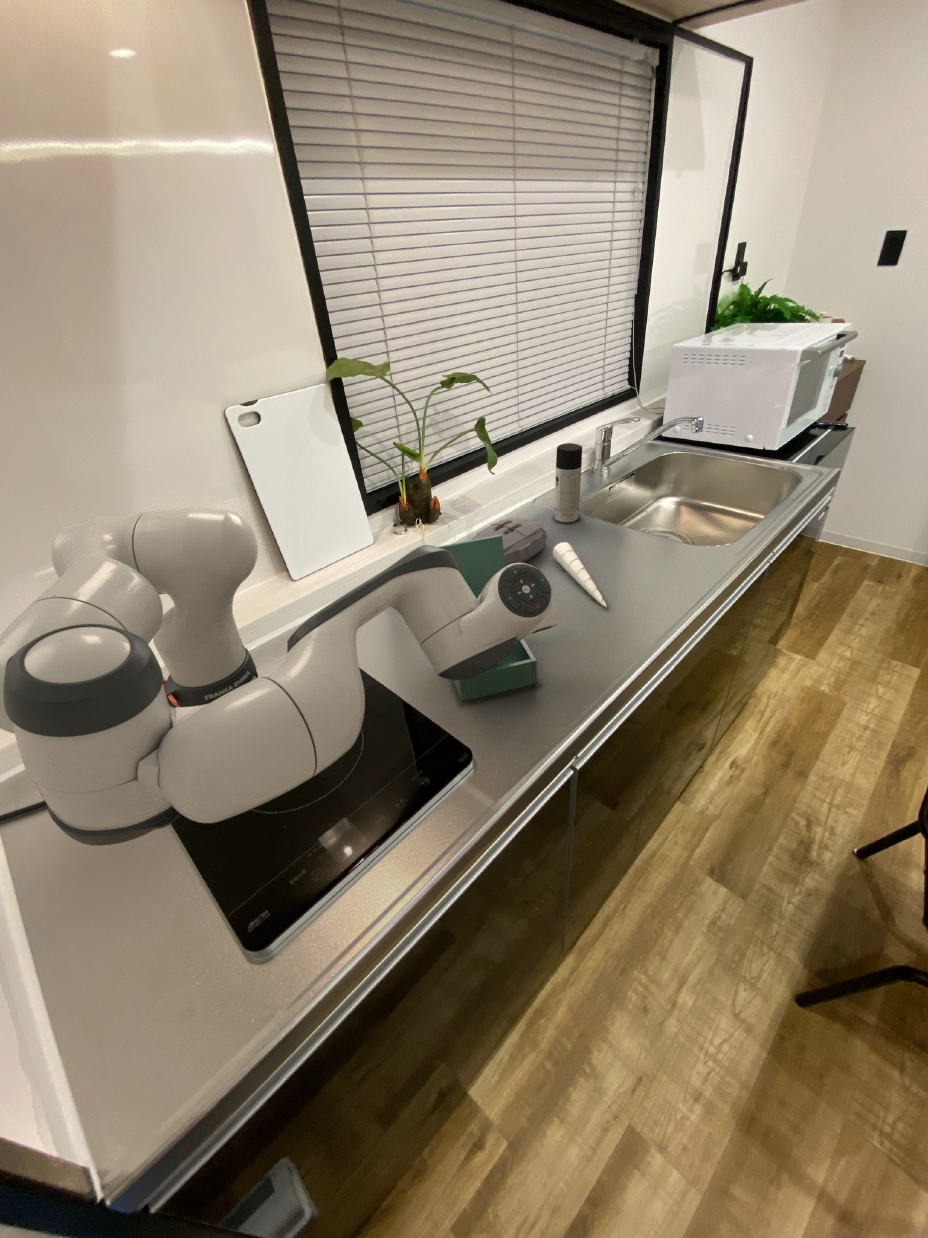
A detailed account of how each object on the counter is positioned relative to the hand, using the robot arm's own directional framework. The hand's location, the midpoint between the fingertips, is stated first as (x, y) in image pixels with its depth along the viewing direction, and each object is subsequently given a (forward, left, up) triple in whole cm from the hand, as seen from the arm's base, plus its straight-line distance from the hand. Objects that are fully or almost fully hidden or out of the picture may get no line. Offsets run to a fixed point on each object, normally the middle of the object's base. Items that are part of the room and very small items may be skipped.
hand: (485, 632), depth 93 cm
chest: (0, 0, -9) cm, 9 cm away
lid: (+4, +7, +5) cm, 10 cm away
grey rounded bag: (+37, +26, -9) cm, 46 cm away
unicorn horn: (+37, +5, -9) cm, 38 cm away
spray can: (+62, +28, -9) cm, 68 cm away
